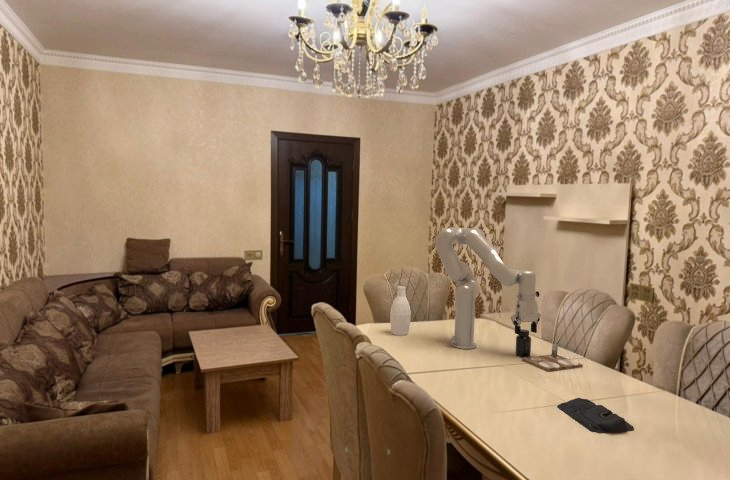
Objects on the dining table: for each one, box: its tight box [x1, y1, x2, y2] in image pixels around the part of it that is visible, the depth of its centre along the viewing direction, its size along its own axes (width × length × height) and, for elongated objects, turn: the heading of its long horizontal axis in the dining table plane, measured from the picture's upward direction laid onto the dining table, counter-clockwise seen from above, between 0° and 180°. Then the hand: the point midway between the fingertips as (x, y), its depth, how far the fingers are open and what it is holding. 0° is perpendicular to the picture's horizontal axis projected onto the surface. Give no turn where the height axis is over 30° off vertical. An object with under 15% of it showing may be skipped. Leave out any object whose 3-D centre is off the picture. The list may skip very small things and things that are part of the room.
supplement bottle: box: [514, 329, 532, 358], centre depth 226 cm, size 7×7×12 cm
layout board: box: [521, 343, 583, 372], centre depth 215 cm, size 20×16×7 cm
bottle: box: [389, 285, 412, 337], centre depth 258 cm, size 11×11×25 cm
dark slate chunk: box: [556, 397, 635, 435], centre depth 159 cm, size 15×22×5 cm
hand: (525, 333), depth 226 cm, fingers open, 9 cm apart
